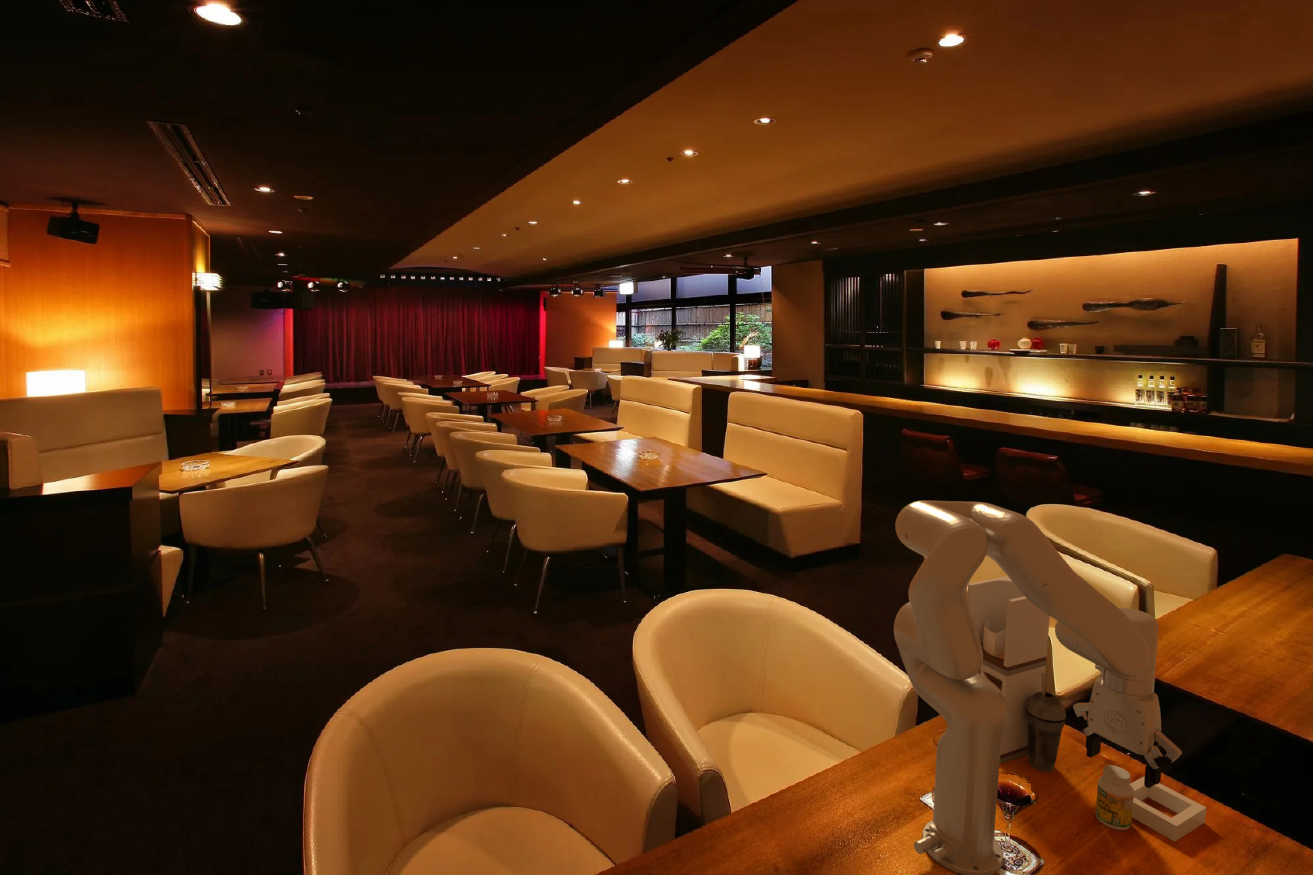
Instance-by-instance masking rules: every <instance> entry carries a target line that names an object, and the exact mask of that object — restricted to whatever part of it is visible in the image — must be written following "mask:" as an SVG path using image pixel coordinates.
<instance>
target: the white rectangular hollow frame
mask: <svg viewBox="0 0 1313 875" xmlns="http://www.w3.org/2000/svg"><path fill="white" fill-rule="evenodd" d="M1144 779H1145V775H1144V776H1142V777H1141V778H1139V779H1136V780H1135V781H1133V782H1130V785H1131V786H1132V787H1133V790H1134V798H1133V809H1132V819H1135V820H1136V821H1138V822H1139V823H1141V824H1143V825H1145V826H1146V827H1148V828H1150V829H1151V830H1153V831H1155V832H1157V833H1158V834H1160V835H1162V836H1164V837H1166V838H1167V839H1169V840H1171V841H1172V842H1174V843H1175V842H1177V841H1179V840H1180V839H1181V838H1184V837H1185V836H1186V835H1188V834H1189V833H1191V832H1193V831H1194V830H1196V829H1197V828H1198V827H1200V826H1202V825H1204V824H1205V823H1206V814H1207V807H1206V806H1204V805H1203V804H1200V803H1198V802H1197V801H1195V800H1193V799H1191V798H1189V797H1187V796H1185V795H1183V794H1181V793H1179V792H1177V791H1176V790H1173V789H1172V788H1170V787H1168V786H1166V785H1164V784H1162V783H1161V782H1160V783H1159V784H1157V785H1156V784H1155V785H1154V786H1152V787H1151V788H1147V787H1145V785H1144ZM1147 798H1149V799H1151V800H1152V801H1154V802H1156V803H1158V804H1160V805H1162V806H1164V807H1165V808H1167V809H1168V810H1171V811H1172V812H1174V813H1176V815H1174V816H1172V817H1171V816H1169V815H1167V814H1165V813H1164V812H1161V811H1160V810H1158V809H1156V808H1155V807H1152V806H1150V805H1149V804H1147V803H1145V802H1144V800H1145V799H1147Z"/></svg>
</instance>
